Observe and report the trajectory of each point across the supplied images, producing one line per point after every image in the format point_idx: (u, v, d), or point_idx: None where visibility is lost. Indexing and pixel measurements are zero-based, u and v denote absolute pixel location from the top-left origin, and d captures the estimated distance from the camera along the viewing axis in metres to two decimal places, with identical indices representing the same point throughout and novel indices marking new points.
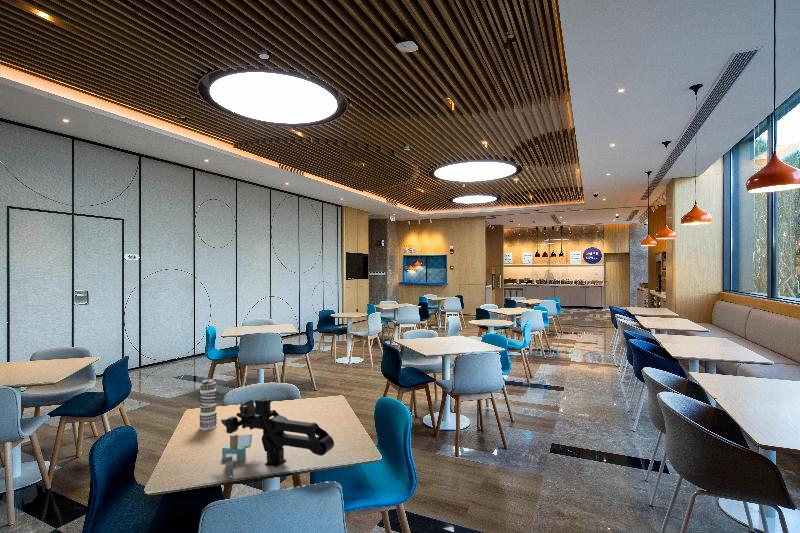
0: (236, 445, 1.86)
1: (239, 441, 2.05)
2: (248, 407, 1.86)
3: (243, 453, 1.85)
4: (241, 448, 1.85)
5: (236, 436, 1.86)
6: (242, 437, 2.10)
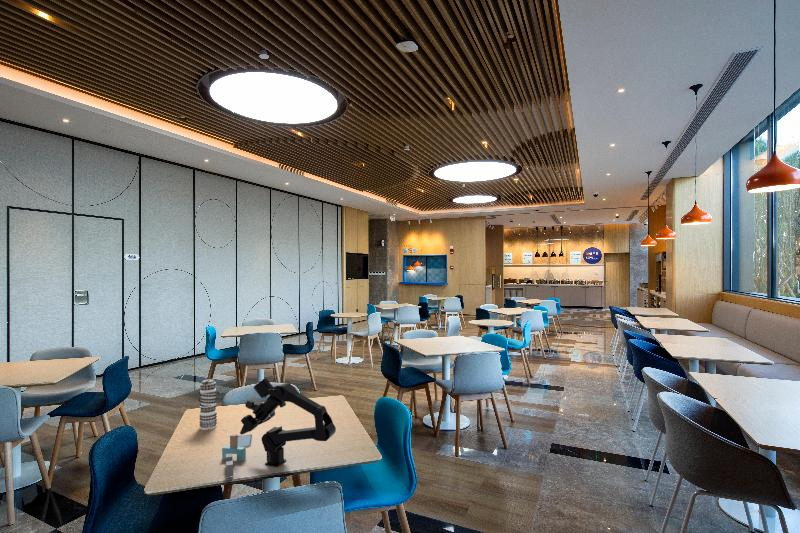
0: (236, 445, 1.86)
1: (239, 441, 2.05)
2: None
3: (243, 453, 1.85)
4: (241, 448, 1.85)
5: (236, 436, 1.86)
6: (242, 437, 2.10)
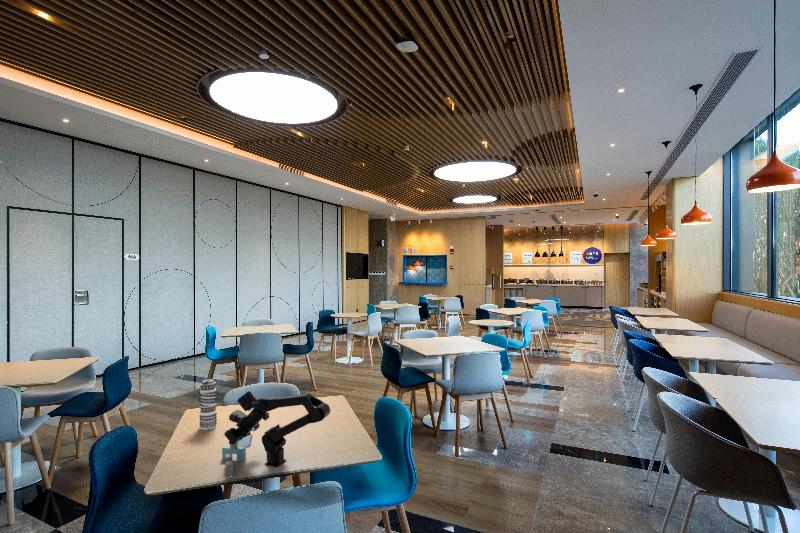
0: (236, 445, 1.86)
1: (239, 441, 2.05)
2: None
3: (243, 453, 1.85)
4: (241, 448, 1.85)
5: None
6: None
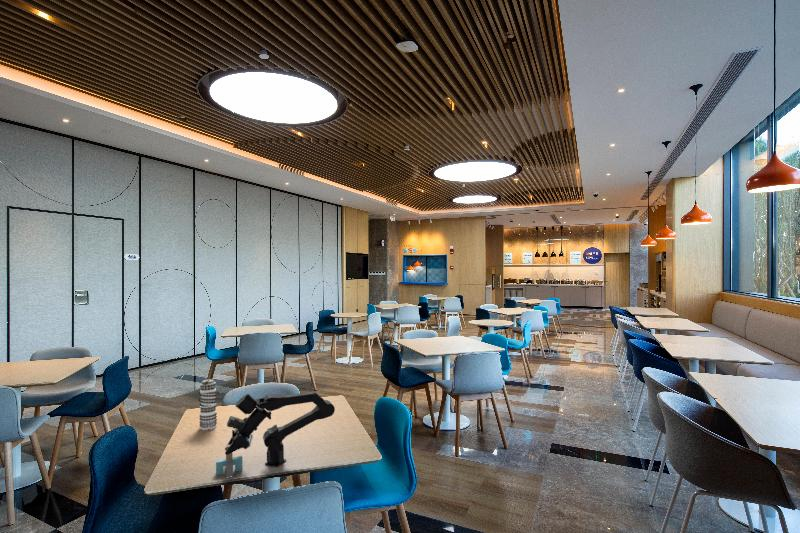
0: None
1: None
2: None
3: None
4: (239, 457, 1.76)
5: None
6: None
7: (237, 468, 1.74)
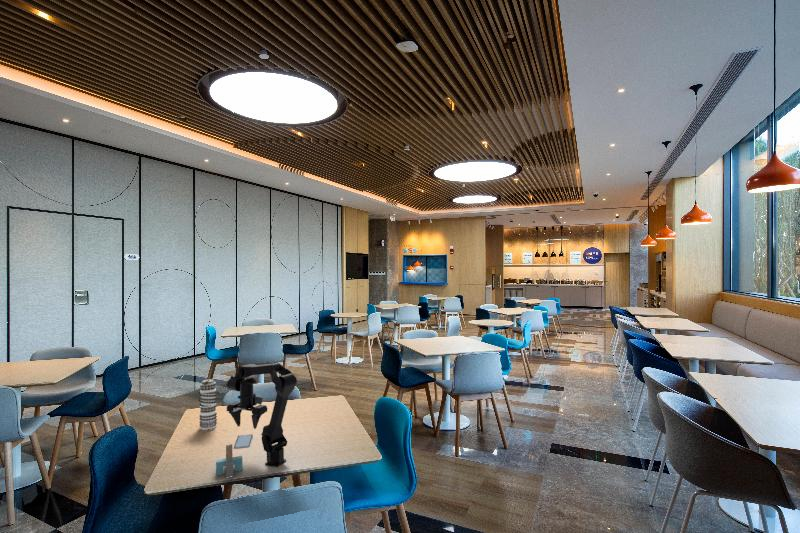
0: None
1: (239, 441, 2.05)
2: None
3: None
4: (239, 457, 1.76)
5: None
6: (243, 437, 2.10)
7: (237, 468, 1.74)
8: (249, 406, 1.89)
